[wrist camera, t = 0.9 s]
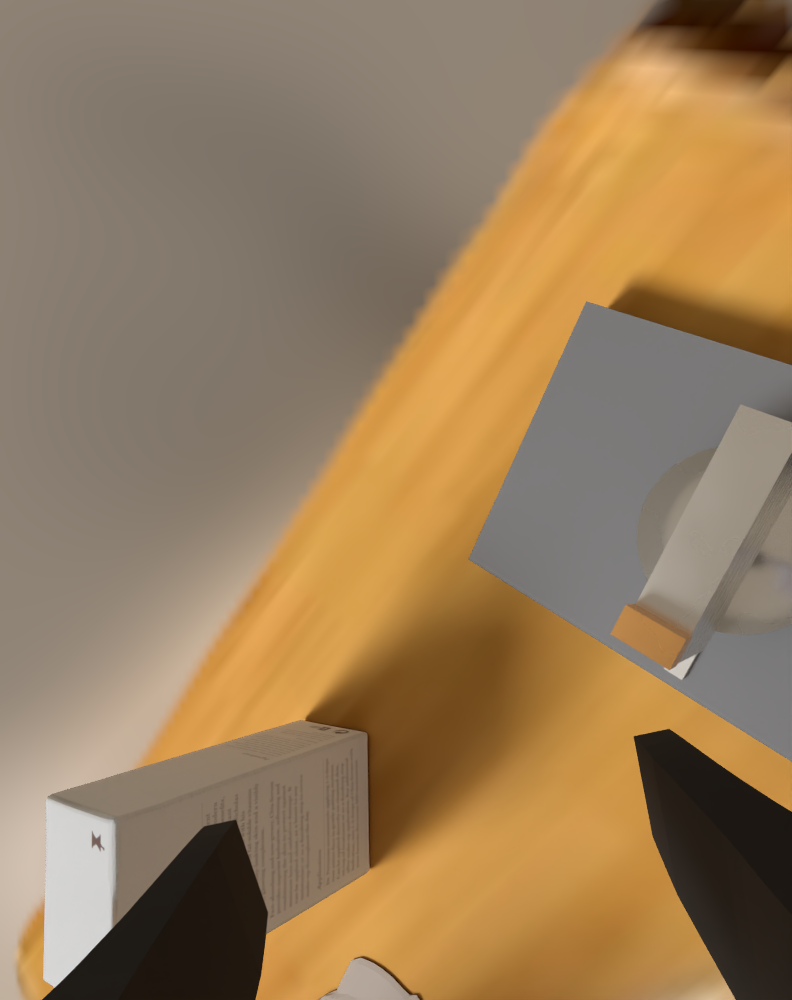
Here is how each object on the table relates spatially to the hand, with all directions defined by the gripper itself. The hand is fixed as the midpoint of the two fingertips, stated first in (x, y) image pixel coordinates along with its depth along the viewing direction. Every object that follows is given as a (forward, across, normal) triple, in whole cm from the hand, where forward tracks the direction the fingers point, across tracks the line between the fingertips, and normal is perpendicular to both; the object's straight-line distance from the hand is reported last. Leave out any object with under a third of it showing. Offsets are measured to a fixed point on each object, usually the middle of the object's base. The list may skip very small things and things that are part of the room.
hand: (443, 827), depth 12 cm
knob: (+9, -10, 0) cm, 13 cm away
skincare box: (+16, +6, +10) cm, 20 cm away
